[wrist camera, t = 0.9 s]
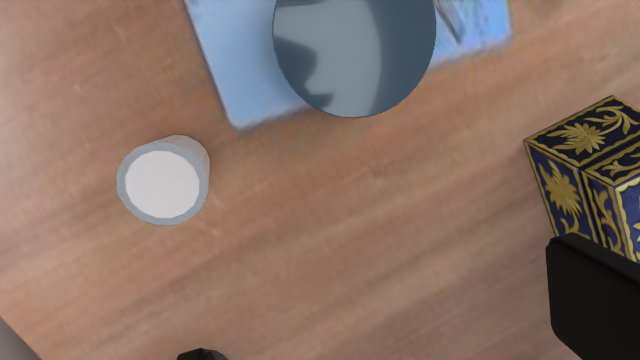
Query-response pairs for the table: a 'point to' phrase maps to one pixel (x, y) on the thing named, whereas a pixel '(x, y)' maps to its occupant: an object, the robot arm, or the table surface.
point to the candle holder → (216, 355)
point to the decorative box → (593, 174)
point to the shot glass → (165, 180)
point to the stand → (353, 51)
